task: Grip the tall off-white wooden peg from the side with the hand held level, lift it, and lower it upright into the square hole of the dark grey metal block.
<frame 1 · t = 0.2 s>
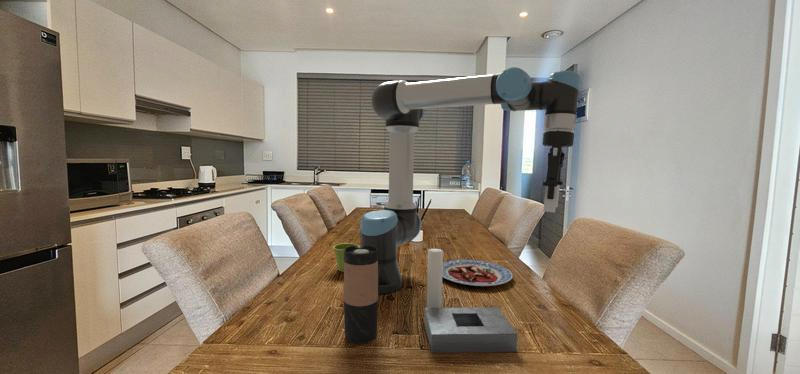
hand: (550, 209, 87), 27 cm above the table, tool pointing down, fingers open, 13 cm apart
hole block: (466, 336, 72), on the table
peg: (434, 308, 86), on the table
travel mug: (360, 336, 72), on the table
plant pot: (346, 270, 116), on the table
ceramic plate: (473, 277, 111), on the table
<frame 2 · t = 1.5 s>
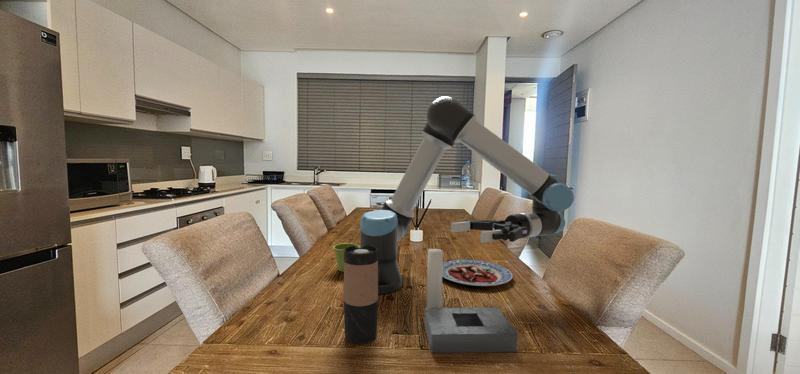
hand: (465, 232, 88), 20 cm above the table, tool horizontal, fingers open, 13 cm apart
nothing on the table moved.
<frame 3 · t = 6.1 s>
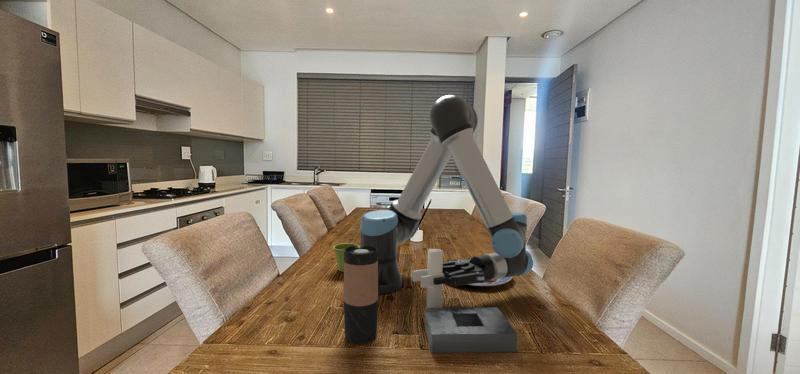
hand: (417, 279, 83), 9 cm above the table, tool horizontal, fingers closed on peg, 4 cm apart
peg: (434, 308, 86), on the table, touching gripper
everything else where it was.
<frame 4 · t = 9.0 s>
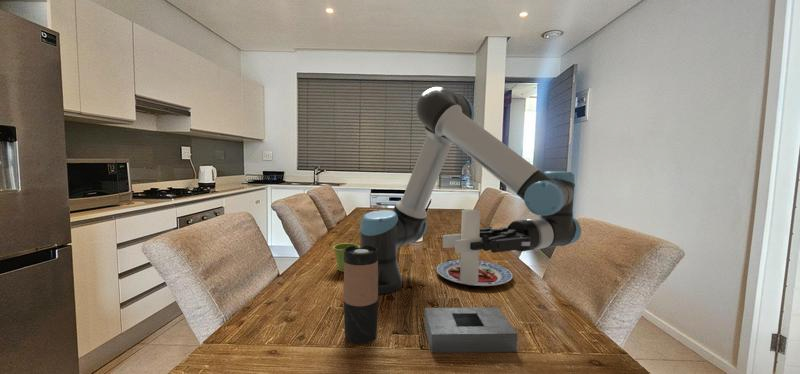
hand: (449, 244, 68), 22 cm above the table, tool horizontal, fingers closed on peg, 4 cm apart
peg: (468, 281, 71), point 13 cm above the table, touching gripper
everything else where it was.
when the fingers open (10 cm above the table, at t = 11.9 s): peg drops 1 cm, resting in hole block.
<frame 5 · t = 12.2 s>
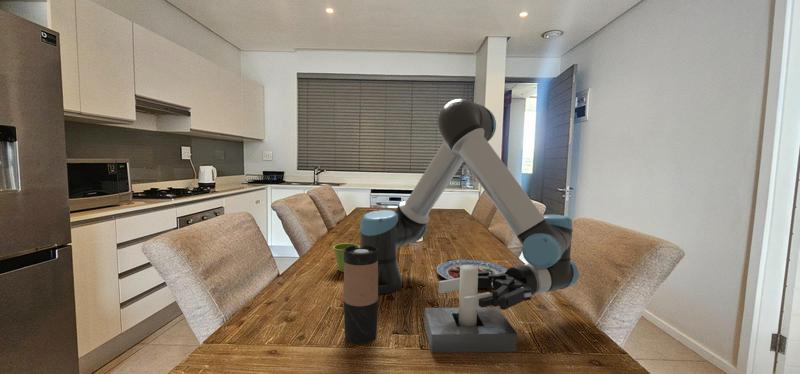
hand: (451, 295, 69), 10 cm above the table, tool horizontal, fingers open, 9 cm apart
peg: (467, 336, 72), resting in hole block
everything else where it was.
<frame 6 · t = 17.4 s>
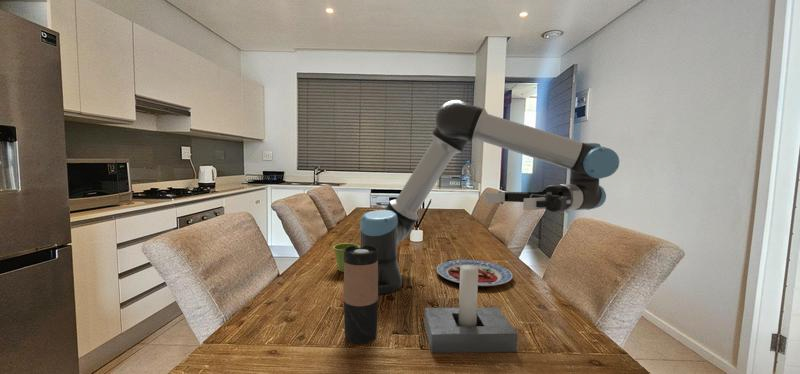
hand: (503, 201, 80), 30 cm above the table, tool horizontal, fingers open, 13 cm apart
nothing on the table moved.
at the end: peg 0.1 cm off-centre on the hole block, point 0.0 cm above the hole block's base; peg tilted 0°; the gripper is holding nothing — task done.
